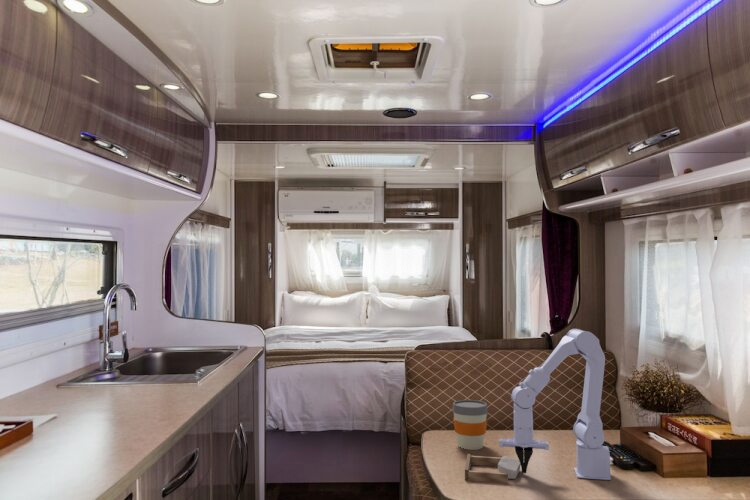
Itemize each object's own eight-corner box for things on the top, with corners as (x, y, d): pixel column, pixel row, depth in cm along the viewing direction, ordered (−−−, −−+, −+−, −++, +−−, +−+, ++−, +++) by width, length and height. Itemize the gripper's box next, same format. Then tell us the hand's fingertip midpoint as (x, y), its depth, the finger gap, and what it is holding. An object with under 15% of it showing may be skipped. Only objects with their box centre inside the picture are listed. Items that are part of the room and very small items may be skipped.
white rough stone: (512, 490, 166) (515, 475, 164) (492, 481, 168) (495, 466, 166) (520, 470, 174) (523, 456, 172) (500, 462, 176) (504, 448, 174)
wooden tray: (507, 465, 177) (506, 456, 177) (507, 483, 163) (507, 472, 163) (467, 463, 180) (467, 453, 180) (464, 479, 165) (464, 469, 165)
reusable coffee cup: (494, 449, 194) (493, 406, 194) (460, 452, 191) (460, 408, 192) (479, 439, 206) (478, 398, 207) (447, 442, 203) (447, 400, 204)
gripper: (499, 429, 167) (499, 474, 166) (549, 431, 164) (550, 478, 163) (499, 422, 174) (499, 466, 173) (547, 425, 171) (547, 470, 170)
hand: (524, 471), depth 169 cm, fingers closed
